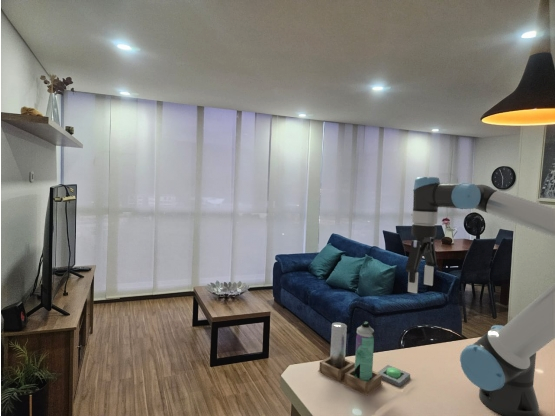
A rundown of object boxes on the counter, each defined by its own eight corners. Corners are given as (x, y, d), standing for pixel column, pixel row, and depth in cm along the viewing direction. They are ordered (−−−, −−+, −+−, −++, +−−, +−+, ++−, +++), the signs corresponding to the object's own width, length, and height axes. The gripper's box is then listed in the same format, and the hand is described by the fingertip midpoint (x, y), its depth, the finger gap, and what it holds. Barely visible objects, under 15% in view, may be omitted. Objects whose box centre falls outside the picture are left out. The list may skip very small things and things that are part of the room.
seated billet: (347, 371, 120) (349, 325, 119) (338, 376, 117) (341, 329, 116) (335, 365, 124) (337, 321, 123) (326, 370, 120) (328, 324, 119)
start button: (402, 379, 118) (402, 371, 118) (396, 384, 115) (396, 375, 114) (390, 374, 121) (390, 366, 121) (383, 379, 118) (384, 370, 118)
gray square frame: (409, 381, 118) (410, 373, 118) (399, 390, 112) (399, 382, 112) (387, 371, 123) (387, 364, 123) (376, 380, 118) (376, 372, 118)
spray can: (370, 379, 116) (373, 319, 115) (373, 388, 110) (376, 326, 109) (353, 377, 116) (356, 318, 115) (355, 387, 111) (358, 325, 110)
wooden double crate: (383, 386, 114) (383, 374, 114) (367, 399, 107) (367, 386, 106) (334, 364, 127) (334, 353, 127) (317, 374, 120) (317, 362, 120)
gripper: (426, 221, 127) (423, 279, 128) (396, 225, 109) (393, 293, 110) (448, 223, 122) (445, 284, 123) (421, 227, 103) (417, 298, 105)
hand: (420, 288), depth 116 cm, fingers open, 13 cm apart
